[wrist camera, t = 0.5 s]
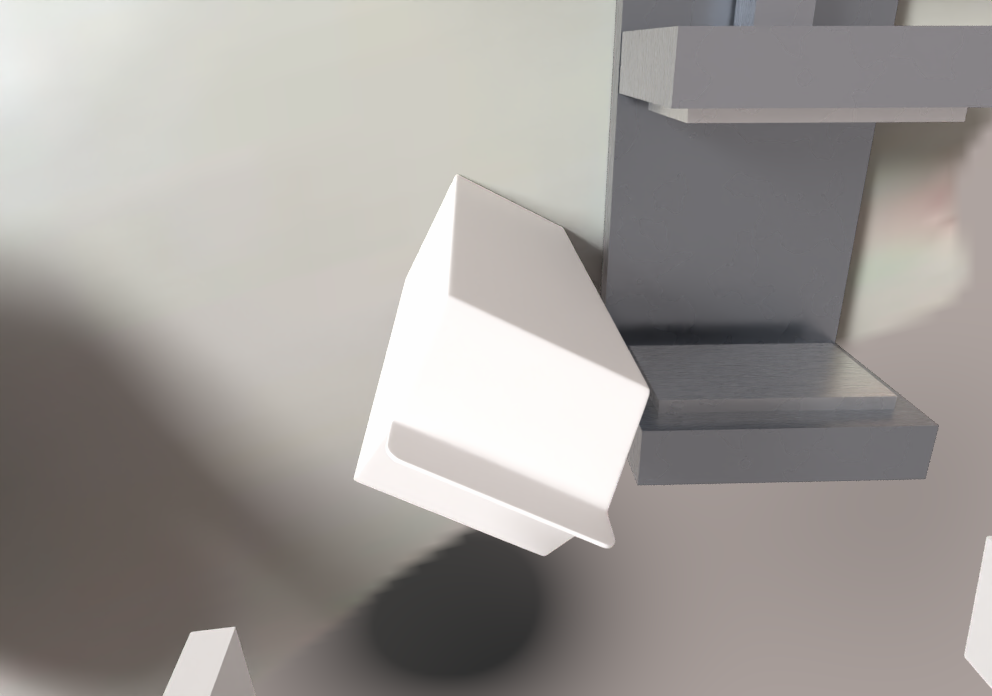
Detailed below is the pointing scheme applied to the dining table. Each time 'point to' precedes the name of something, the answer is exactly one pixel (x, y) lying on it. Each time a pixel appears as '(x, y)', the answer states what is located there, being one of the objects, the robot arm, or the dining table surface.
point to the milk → (503, 381)
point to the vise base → (745, 286)
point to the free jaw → (807, 69)
